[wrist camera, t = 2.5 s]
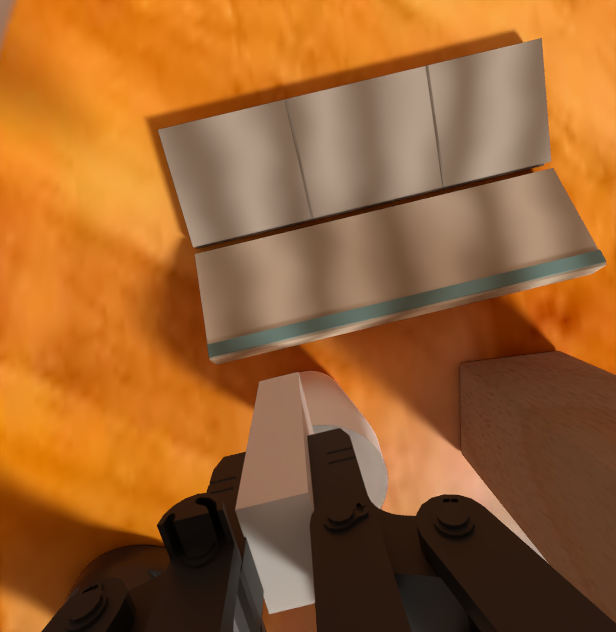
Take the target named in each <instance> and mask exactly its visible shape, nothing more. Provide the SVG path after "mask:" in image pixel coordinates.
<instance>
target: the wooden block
mask: <svg viewBox="0 0 616 632" xmlns="http://www.w3.org/2000/svg"><path fill="white" fill-rule="evenodd" d="M460 400H461V452H462V454H463V456H464V457H465V459H466V460H467V461H468V462H469V464H470V465H471V466H472V467H473V469H474V470H475V471H476V472H477V474H478V475H479V476H480V477H481V479H482V480H483V481H484V483H485V484H486V485H487V486H488V488H489V489H490V490H491V491H492V493H493V494H494V495H495V496H496V498H497V499H498V500H499V501H500V503H501V504H502V505H503V506H504V508H505V509H506V510H507V511H508V513H509V514H510V515H511V517H512V518H513V519H514V520H515V522H516V523H517V524H518V525H519V527H520V528H521V529H522V530H523V532H524V533H525V534H526V535H527V537H528V538H529V539H530V540H531V542H532V543H533V544H534V545H535V547H536V548H537V549H538V550H539V552H540V553H541V554H542V556H543V557H544V558H545V559H546V561H547V562H548V563H549V564H550V565H551V566H552V567H553V568H554V569H555V570H556V571H557V572H558V573H560V574H561V575H562V576H563V577H564V578H565V579H566V580H568V581H569V582H570V583H571V584H572V585H573V586H574V587H575V588H577V589H578V590H579V591H580V592H581V593H582V594H583V595H584V596H586V597H587V598H588V599H589V600H590V601H591V602H592V603H594V604H595V605H596V606H597V607H598V608H599V609H600V610H601V611H603V612H604V613H605V614H606V615H607V616H608V617H609V618H610V619H612V620H613V621H614V622H615V623H616V375H614V374H612V373H609V372H607V371H605V370H602V369H600V368H598V367H596V366H593V365H591V364H589V363H586V362H584V361H582V360H579V359H577V358H575V357H572V356H570V355H568V354H565V353H563V352H560V351H553V352H545V353H537V354H529V355H520V356H512V357H504V358H496V359H488V360H480V361H472V362H464V363H462V364H461V365H460Z"/></svg>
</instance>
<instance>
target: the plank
mask: <svg viewBox="0 0 616 632" xmlns="http://www.w3.org/2000/svg"><path fill="white" fill-rule="evenodd" d="M195 260H196V267H197V274H198V281H199V288H200V295H201V302H202V309H203V316H204V323H205V330H206V337H207V347H208V354H209V358H210V361H212V362H213V363H215V364H216V365H217V364H221V363H226V362H230V361H234V360H238V359H242V358H246V357H250V356H254V355H259V354H263V353H267V352H271V351H275V350H279V349H283V348H288V347H292V346H296V345H300V344H304V343H308V342H312V341H317V340H321V339H325V338H329V337H333V336H337V335H341V334H345V333H350V332H354V331H358V330H362V329H366V328H370V327H374V326H379V325H383V324H387V323H391V322H395V321H399V320H403V319H408V318H412V317H416V316H420V315H424V314H428V313H432V312H436V311H441V310H445V309H449V308H453V307H457V306H461V305H465V304H470V303H474V302H478V301H482V300H486V299H490V298H494V297H499V296H503V295H507V294H511V293H515V292H519V291H523V290H527V289H532V288H536V287H540V286H544V285H548V284H552V283H556V282H561V281H565V280H569V279H573V278H577V277H581V276H585V275H590V274H593V273H594V272H596V271H598V270H599V269H601V268H602V267H604V266H605V265H607V264H606V260H605V258H604V256H603V254H602V252H601V251H600V250H598V248H597V246H596V244H595V242H594V241H593V239H592V237H591V235H590V234H589V232H588V230H587V228H586V226H585V225H584V223H583V221H582V219H581V217H580V216H579V214H578V212H577V210H576V208H575V207H574V205H573V203H572V201H571V199H570V198H569V196H568V194H567V192H566V190H565V189H564V187H563V185H562V183H561V181H560V180H559V178H558V176H557V174H556V172H555V171H554V169H553V168H551V169H547V170H543V171H539V172H535V173H530V174H526V175H522V176H518V177H514V178H510V179H505V180H501V181H497V182H493V183H489V184H485V185H480V186H476V187H472V188H468V189H464V190H460V191H455V192H451V193H447V194H443V195H439V196H435V197H430V198H426V199H422V200H418V201H414V202H410V203H405V204H401V205H397V206H393V207H389V208H385V209H381V210H376V211H372V212H368V213H364V214H360V215H356V216H351V217H347V218H343V219H339V220H335V221H331V222H326V223H322V224H318V225H314V226H310V227H306V228H301V229H297V230H293V231H289V232H285V233H281V234H276V235H272V236H268V237H264V238H260V239H256V240H251V241H247V242H243V243H239V244H235V245H231V246H227V247H222V248H218V249H214V250H210V251H206V252H202V253H197V254H195Z"/></svg>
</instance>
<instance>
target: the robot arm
mask: <svg viewBox="0 0 616 632" xmlns="http://www.w3.org/2000/svg"><path fill="white" fill-rule="evenodd" d="M157 527H158V529H159V532H160V535H161V537H162V540H163V542H164V545H165V547H166V548H163V547H158V546H150V545H136V546H128V547H123V548H119V549H116V550H113V551H110V552H108V553H106V554H104V555H102V556H100V557H98V558H97V559H95V560H94V561H93V562H91V563H90V564H89V565H88V566H87V567H86V568H85V569H84V570H83V571H82V573H81V574H80V575H79V577H78V579H77V580H76V582H75V584H74V585H73V587H72V589H71V590H70V592H69V594H68V595H67V597H66V599H65V602H64V604H63V606H62V607H61V608H60V610H59V611H58V612H57V613H56V614H55V616H54V617H53V618H52V619H51V621H50V622H49V623H48V624H47V626H46V627H45V628H44V629H43V631H42V632H266V628H265V625H264V622H263V619H262V611H263V596H264V599H265V603H266V606H267V609H268V612H269V614H273V613H277V612H281V611H285V610H289V609H293V608H297V607H302V606H306V605H310V604H314V603H315V608H316V622H317V632H616V623H615V622H614V621H613V620H612V619H610V618H609V617H608V616H607V615H606V614H605V613H604V612H603V611H601V610H600V609H599V608H598V607H597V606H596V605H595V604H594V603H592V602H591V601H590V600H589V599H588V598H587V597H586V596H584V595H583V594H582V593H581V592H580V591H579V590H578V589H577V588H575V587H574V586H573V585H572V584H571V583H570V582H569V581H568V580H566V579H565V578H564V577H563V576H562V575H561V574H560V573H558V572H557V571H556V570H555V569H554V568H553V567H552V566H551V565H549V564H548V563H547V562H546V561H545V560H544V559H543V558H542V557H540V556H539V555H538V554H537V553H536V552H535V551H534V550H532V549H531V548H530V547H529V546H528V545H527V544H526V543H525V542H523V541H522V540H521V539H520V538H519V537H518V536H517V535H516V534H514V533H513V532H512V531H511V530H510V529H509V528H508V527H506V526H505V525H504V524H503V523H502V522H501V521H500V520H499V519H497V518H496V517H495V516H494V515H493V514H492V513H491V512H489V511H488V510H487V509H486V508H485V507H484V506H482V505H481V504H479V503H478V502H476V501H474V500H473V499H471V498H467V497H464V496H461V495H440V496H437V497H433V498H431V499H429V500H428V501H426V502H425V503H424V504H422V506H421V507H420V509H419V511H418V512H417V516H404V515H395V514H391V513H388V512H385V511H383V510H381V509H379V508H378V507H376V506H375V505H374V504H373V503H372V502H371V500H370V498H369V496H368V494H367V491H366V488H365V484H364V481H363V478H362V474H361V471H360V468H359V465H358V461H357V458H356V455H355V452H354V449H353V445H352V442H351V438H350V435H348V434H347V433H346V432H344V431H343V430H342V429H341V428H337V429H333V430H329V431H325V432H321V433H316V434H314V431H313V427H312V423H311V419H310V415H309V411H308V407H307V403H306V399H305V395H304V391H303V388H302V384H301V380H300V376H299V372H296V373H292V374H287V375H283V376H279V377H275V378H271V379H267V380H263V381H259V386H258V391H257V396H256V402H255V407H254V412H253V418H252V423H251V428H250V433H249V439H248V444H247V449H246V452H243V453H239V454H235V455H230V456H226V457H224V458H223V459H222V460H221V461H220V462H219V464H218V465H217V466H216V467H215V469H214V470H213V473H212V477H211V480H210V485H209V486H208V489H207V493H202V494H196V495H194V496H191V497H188V498H186V499H184V500H182V501H181V502H179V503H177V504H176V505H174V506H173V507H172V508H171V509H170V510H169V511H167V512H166V513H165V514H164V515H163V517H162V518H161V520H160V521H159V523H158V524H157Z"/></svg>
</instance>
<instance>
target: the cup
mask: <svg viewBox="0 0 616 632" xmlns="http://www.w3.org/2000/svg"><path fill="white" fill-rule="evenodd" d="M299 376H300V380H301V384H302V388H303V391H304V395H305V399H306V403H307V407H308V411H309V415H310V419H311V423H312V427H313V431H314V434H316V433H321V432H325V431H329V430H333V429H337V428H341V429H342V430H343V431H344V432H346V433H347V434H348V435H350V438H351V442H352V445H353V449H354V452H355V455H356V458H357V461H358V465H359V468H360V471H361V474H362V478H363V481H364V484H365V488H366V491H367V494H368V496H369V498H370V500H371V502H372V503H373V504H374V505H375V506H376V507H378V508H379V509H381V507H382V505H383V503H384V500H385V497H386V494H387V489H388V473H387V468H386V465H385V462H384V459H383V456H382V453H381V450H380V446H379V443H378V440H377V437H376V435H375V432H374V431H373V429H372V427H371V426H370V424H369V423H368V421H367V420H366V419H365V418H364V416H363V415H362V414H361V412H360V411H359V410H358V408H357V407H356V406H355V405H354V403H353V402H352V401H351V400H350V398H349V397H348V396H347V394H346V393H345V392H344V391H343V389H342V388H341V387H340V386H339V384H338V383H337V382H336V381H335V380H334V379H333V378H332V377H330V376H329V375H327V374H324V373H322V372H318V371H304V372H300V373H299Z"/></svg>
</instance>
